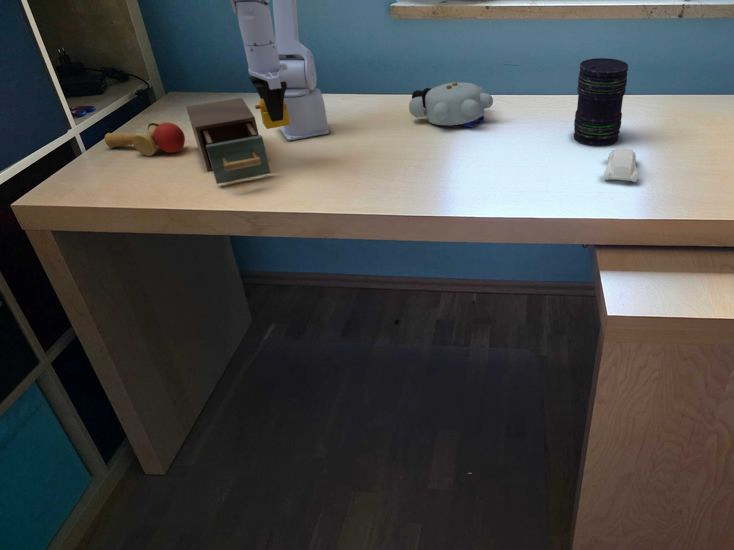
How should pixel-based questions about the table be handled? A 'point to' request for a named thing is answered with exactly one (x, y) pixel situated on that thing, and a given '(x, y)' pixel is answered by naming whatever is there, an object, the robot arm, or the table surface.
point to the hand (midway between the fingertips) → (275, 117)
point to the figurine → (451, 104)
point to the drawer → (235, 152)
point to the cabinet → (217, 120)
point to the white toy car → (621, 165)
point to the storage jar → (600, 101)
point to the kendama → (150, 138)
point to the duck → (267, 119)
